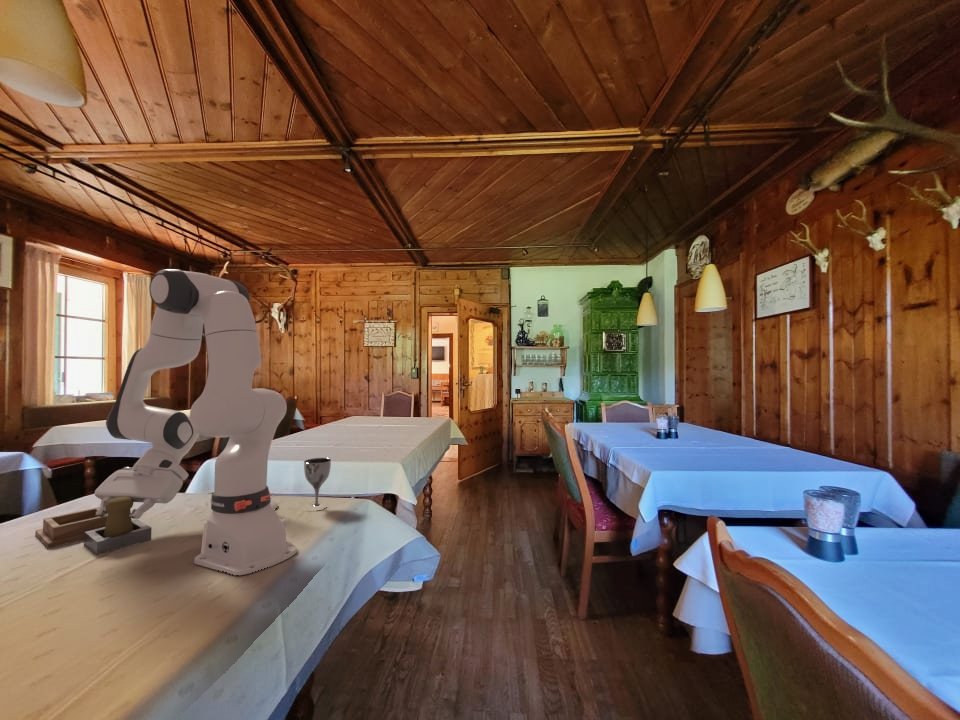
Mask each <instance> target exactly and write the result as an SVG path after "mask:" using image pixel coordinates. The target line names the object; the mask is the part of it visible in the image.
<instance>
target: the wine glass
mask: <svg viewBox="0 0 960 720" xmlns="http://www.w3.org/2000/svg"><path fill="white" fill-rule="evenodd" d="M331 463H332V459H331V458H328V457H314V458H309V459H305V460H304V461H303V471H304V472H303V473H304V477H305V479H306V481H307V483H309V485H311V486H312V488H313V490H314V496H315V499H314V505H313V504H311V505H312V506H314V507H315V506H319V505H320V504H321V503H319V492H320V489H321V487H322V486H323V484H324V483H325V482H326V480H328V478H329V475H330V472H331V465H332V464H331Z"/></svg>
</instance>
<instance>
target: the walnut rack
mask: <svg viewBox="0 0 960 720" xmlns="http://www.w3.org/2000/svg"><path fill="white" fill-rule="evenodd" d="M99 509H100V506H98V507H94V508H93V507H92V508H89V509H88V508H87V509H84V510H83V509H82V510H79V511H74V512H69V513H65V514H59V515H55V516H51V517H45V518H43V522H42V528H40V529H35V533H34V534H35V535H34V536H36V538H38V540H39V541H40V542H41V541H42V542H43V543H44V544H43V543H42V542H41V543H42V544H43V545H44V546H45V547H46V548H47V549H51V548H56V547H59V545H60V546H64V545H67V544H66V543H68V544H72V543H74V542H75V543H76V542H78V541H84V532H87V531H91V530H95V529H99V528H103V527H105V526H106V521H107V517H108V514H107V516H106V517H98V516H97V515H96V512H97V511H98V510H99ZM71 542H72V543H71ZM63 544H64V545H63Z"/></svg>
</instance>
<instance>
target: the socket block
mask: <svg viewBox="0 0 960 720" xmlns="http://www.w3.org/2000/svg"><path fill="white" fill-rule="evenodd" d="M132 526H133V531H130V532H126V533H122V534H118V535H114V536H110V537H106V538H103V535H104V531H105V527H103V528H99V529H95V530H91V531H87V532H84V539H83V545H84V546H85V547H86V548H87V549H89V550H90V551H91V552H93V554H95V555H96V556H99V555H101V554H104V553H108V551H109V552H111V551H115V550H119V549H122V548H127V547H129V546H132V545H136V544H139V543H144V542H148V541H150V540H152V526H150V525H148V524H146V523H145V522H143V521H141V520H139V519H132Z"/></svg>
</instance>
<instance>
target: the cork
mask: <svg viewBox="0 0 960 720" xmlns="http://www.w3.org/2000/svg"><path fill="white" fill-rule="evenodd" d="M133 506H134V502H133V499H132V498H131V497H118V498H114V499H111V500H109V501H108V502H107V503H106V506H105V509H106V511H107V512H108V517H107V521H106V526H105V531H104V535H103V538H106V537H110V536H114V535H118V534H122V533H126V532H130V531H133V526H132V520H133V518H131V517H130V514H131V513H132V511H131V509H132V508H133Z"/></svg>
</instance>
